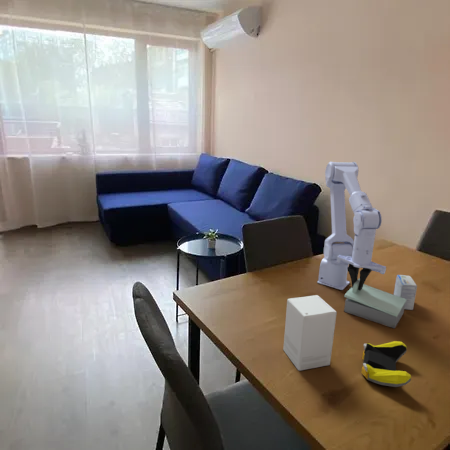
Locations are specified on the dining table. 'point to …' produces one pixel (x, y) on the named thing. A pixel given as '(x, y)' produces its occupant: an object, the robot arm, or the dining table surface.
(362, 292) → the lid
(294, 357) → the supplement box
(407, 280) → the medicine box
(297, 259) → the dining table surface
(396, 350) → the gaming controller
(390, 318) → the tub
